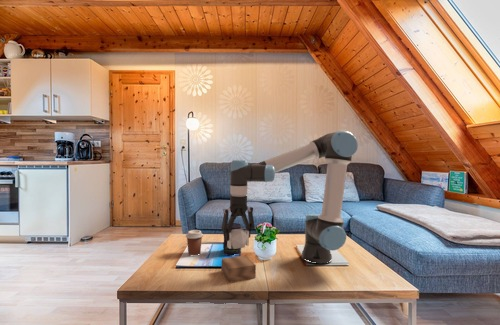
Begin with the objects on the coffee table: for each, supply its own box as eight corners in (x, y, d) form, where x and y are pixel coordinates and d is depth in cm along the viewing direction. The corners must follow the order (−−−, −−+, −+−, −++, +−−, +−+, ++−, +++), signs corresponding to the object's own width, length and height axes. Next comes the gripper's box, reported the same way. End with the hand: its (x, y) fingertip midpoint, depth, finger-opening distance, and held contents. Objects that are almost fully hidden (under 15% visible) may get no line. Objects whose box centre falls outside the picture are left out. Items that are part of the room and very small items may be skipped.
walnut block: (246, 267, 127) (246, 255, 126) (255, 278, 115) (255, 265, 115) (221, 271, 122) (221, 258, 122) (228, 283, 111) (228, 268, 111)
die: (246, 253, 113) (254, 232, 118) (229, 244, 111) (237, 223, 116) (238, 253, 120) (246, 233, 125) (222, 245, 118) (230, 225, 123)
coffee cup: (182, 253, 144) (182, 231, 143) (197, 249, 150) (197, 228, 149) (190, 258, 137) (190, 235, 136) (206, 254, 143) (206, 232, 142)
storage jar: (224, 256, 140) (224, 228, 140) (221, 250, 150) (222, 223, 149) (242, 254, 142) (243, 227, 142) (239, 248, 152) (239, 222, 152)
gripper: (255, 192, 126) (254, 240, 127) (213, 195, 116) (212, 247, 117) (263, 194, 120) (262, 245, 120) (220, 197, 110) (219, 252, 110)
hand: (238, 246), depth 119 cm, fingers closed on die, 8 cm apart
